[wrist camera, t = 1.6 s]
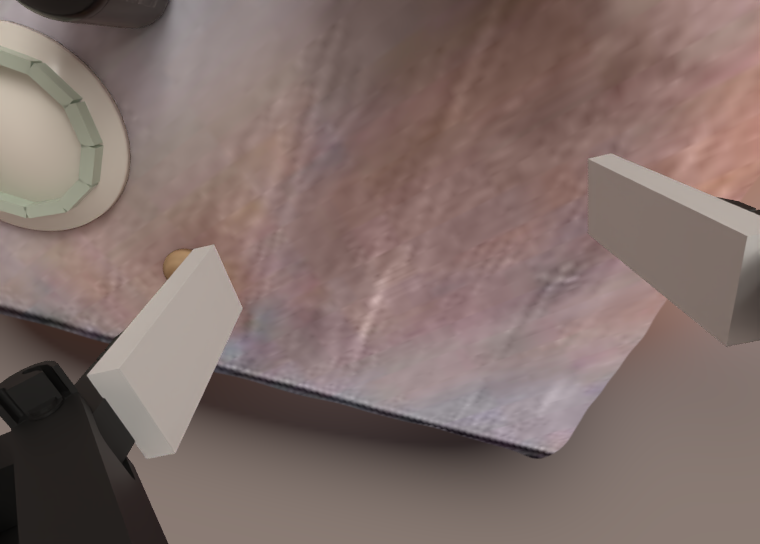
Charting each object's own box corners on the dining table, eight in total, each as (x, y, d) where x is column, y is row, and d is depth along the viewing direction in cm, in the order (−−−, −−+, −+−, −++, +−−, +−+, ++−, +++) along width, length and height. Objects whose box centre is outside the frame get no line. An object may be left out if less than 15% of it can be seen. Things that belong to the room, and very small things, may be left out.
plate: (-139, 38, 31) (-172, 37, 29) (74, 0, 31) (55, -4, 29) (-14, 239, 38) (-34, 249, 36) (160, 211, 38) (149, 219, 36)
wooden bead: (166, 245, 39) (149, 262, 36) (203, 239, 39) (189, 255, 36) (180, 279, 41) (165, 297, 38) (215, 273, 41) (203, 291, 38)
